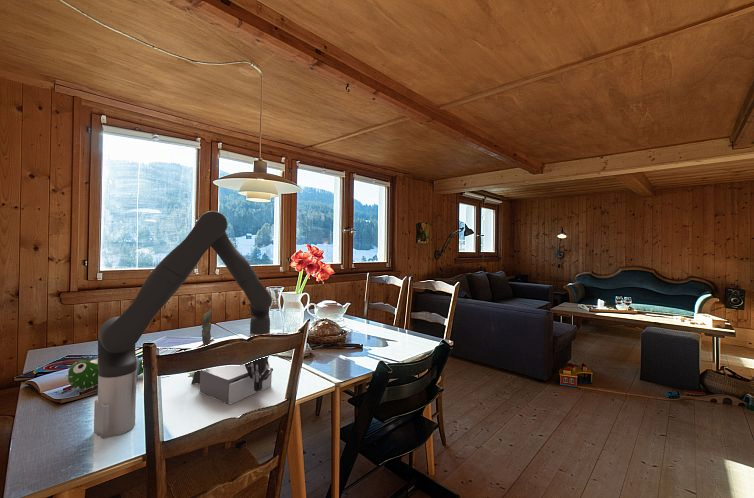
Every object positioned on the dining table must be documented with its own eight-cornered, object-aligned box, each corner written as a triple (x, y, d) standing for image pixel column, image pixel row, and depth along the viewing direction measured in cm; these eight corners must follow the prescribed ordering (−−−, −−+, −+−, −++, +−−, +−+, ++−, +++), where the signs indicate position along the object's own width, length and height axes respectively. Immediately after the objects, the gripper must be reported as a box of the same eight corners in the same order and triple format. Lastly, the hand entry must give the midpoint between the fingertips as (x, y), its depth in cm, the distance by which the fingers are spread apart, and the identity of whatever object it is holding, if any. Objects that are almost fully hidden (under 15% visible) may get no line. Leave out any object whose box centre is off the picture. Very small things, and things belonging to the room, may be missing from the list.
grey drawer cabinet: (268, 385, 139) (269, 364, 139) (227, 403, 123) (228, 380, 123) (241, 376, 147) (242, 356, 147) (199, 392, 131) (200, 369, 131)
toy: (169, 352, 141) (73, 362, 119) (168, 381, 139) (69, 397, 117) (151, 350, 155) (62, 359, 133) (150, 376, 153) (59, 390, 131)
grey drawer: (271, 385, 139) (271, 368, 138) (230, 404, 122) (230, 384, 122) (244, 376, 146) (245, 360, 146) (202, 393, 130) (203, 374, 130)
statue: (195, 377, 144) (197, 305, 144) (215, 376, 146) (217, 305, 145) (190, 384, 137) (193, 308, 137) (211, 383, 139) (214, 308, 139)
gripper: (280, 345, 128) (278, 391, 129) (255, 338, 135) (253, 383, 135) (264, 350, 122) (262, 399, 122) (238, 343, 128) (237, 389, 129)
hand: (257, 390), depth 129 cm, fingers closed
